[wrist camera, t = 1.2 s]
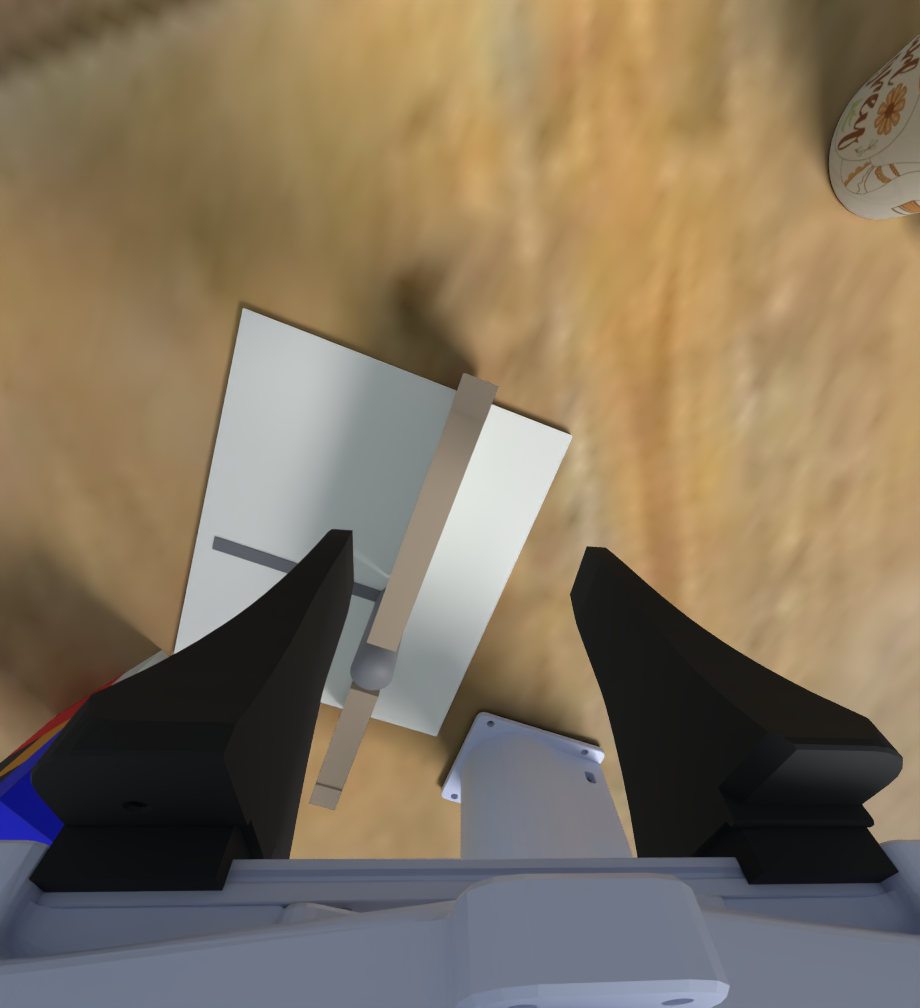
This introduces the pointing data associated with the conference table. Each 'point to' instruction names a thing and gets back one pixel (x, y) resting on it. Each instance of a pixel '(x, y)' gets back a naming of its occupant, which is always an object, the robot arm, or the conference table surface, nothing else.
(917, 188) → the mug
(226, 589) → the card
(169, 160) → the conference table surface
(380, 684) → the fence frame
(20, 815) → the puzzle toy
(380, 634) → the framed panel
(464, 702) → the conference table surface
